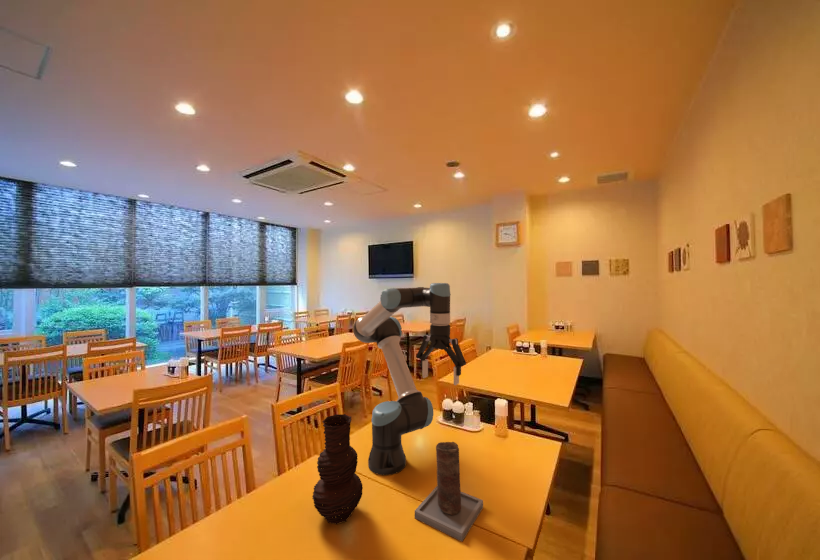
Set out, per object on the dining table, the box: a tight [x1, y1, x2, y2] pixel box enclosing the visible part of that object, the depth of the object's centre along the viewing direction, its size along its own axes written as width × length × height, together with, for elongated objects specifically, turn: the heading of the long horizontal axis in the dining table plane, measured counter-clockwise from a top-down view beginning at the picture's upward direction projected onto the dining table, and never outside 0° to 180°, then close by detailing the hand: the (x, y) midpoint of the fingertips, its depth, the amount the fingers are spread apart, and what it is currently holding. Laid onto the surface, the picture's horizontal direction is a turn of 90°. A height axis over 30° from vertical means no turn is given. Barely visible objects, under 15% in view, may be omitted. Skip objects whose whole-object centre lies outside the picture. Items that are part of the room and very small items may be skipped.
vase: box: [311, 413, 364, 525], centre depth 100 cm, size 15×15×30 cm
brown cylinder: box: [435, 441, 462, 515], centre depth 100 cm, size 8×7×20 cm
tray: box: [414, 485, 484, 542], centre depth 100 cm, size 16×16×2 cm
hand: (440, 380), depth 119 cm, fingers open, 13 cm apart
